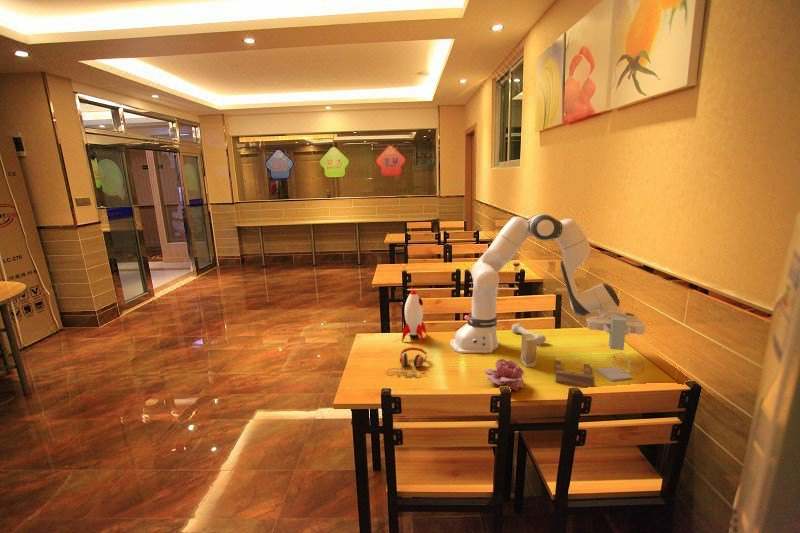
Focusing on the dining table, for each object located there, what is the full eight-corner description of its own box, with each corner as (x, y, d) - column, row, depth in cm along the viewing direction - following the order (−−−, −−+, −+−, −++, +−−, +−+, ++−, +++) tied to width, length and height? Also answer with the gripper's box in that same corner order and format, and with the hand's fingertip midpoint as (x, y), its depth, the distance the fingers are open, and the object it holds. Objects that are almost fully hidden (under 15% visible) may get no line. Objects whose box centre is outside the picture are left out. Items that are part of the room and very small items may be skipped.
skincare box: (520, 360, 173) (521, 334, 171) (529, 360, 174) (531, 333, 171) (525, 367, 167) (527, 339, 164) (536, 366, 167) (537, 339, 165)
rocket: (423, 343, 194) (422, 293, 189) (401, 342, 196) (400, 292, 191) (426, 334, 205) (426, 287, 199) (405, 333, 207) (404, 286, 201)
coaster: (610, 381, 154) (610, 379, 154) (595, 370, 163) (595, 368, 163) (631, 378, 156) (632, 377, 156) (615, 368, 164) (616, 366, 164)
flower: (489, 390, 145) (497, 363, 144) (479, 375, 159) (486, 351, 159) (528, 399, 146) (536, 373, 145) (515, 384, 160) (522, 360, 160)
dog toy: (547, 344, 189) (548, 334, 188) (537, 347, 187) (538, 336, 186) (519, 330, 208) (519, 321, 207) (509, 332, 205) (510, 323, 204)
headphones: (384, 370, 162) (396, 341, 179) (385, 381, 164) (397, 351, 181) (425, 375, 157) (434, 344, 175) (425, 385, 160) (434, 354, 177)
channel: (555, 362, 171) (555, 353, 170) (589, 366, 167) (589, 357, 166) (555, 382, 155) (556, 372, 154) (593, 387, 150) (593, 377, 149)
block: (608, 344, 160) (611, 315, 157) (621, 345, 158) (624, 316, 156) (610, 348, 156) (612, 319, 153) (623, 350, 154) (626, 320, 152)
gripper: (586, 310, 170) (588, 321, 158) (641, 315, 163) (648, 327, 151) (584, 325, 172) (587, 337, 159) (639, 330, 165) (647, 343, 152)
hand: (617, 332), depth 155 cm, fingers closed on block, 4 cm apart
